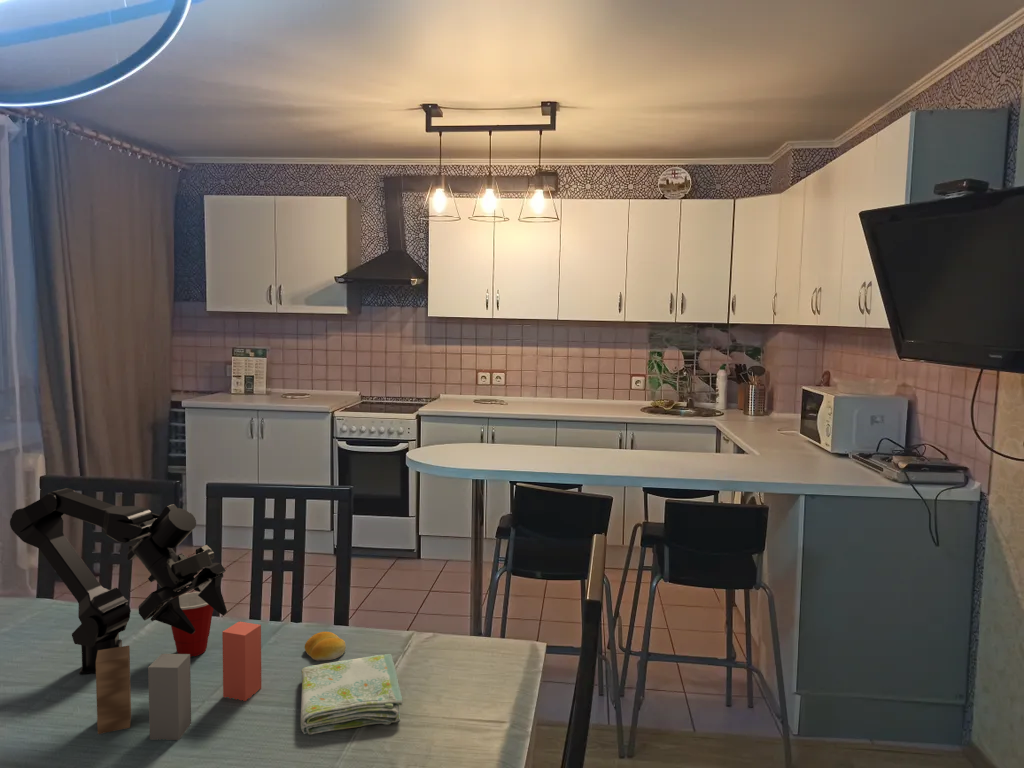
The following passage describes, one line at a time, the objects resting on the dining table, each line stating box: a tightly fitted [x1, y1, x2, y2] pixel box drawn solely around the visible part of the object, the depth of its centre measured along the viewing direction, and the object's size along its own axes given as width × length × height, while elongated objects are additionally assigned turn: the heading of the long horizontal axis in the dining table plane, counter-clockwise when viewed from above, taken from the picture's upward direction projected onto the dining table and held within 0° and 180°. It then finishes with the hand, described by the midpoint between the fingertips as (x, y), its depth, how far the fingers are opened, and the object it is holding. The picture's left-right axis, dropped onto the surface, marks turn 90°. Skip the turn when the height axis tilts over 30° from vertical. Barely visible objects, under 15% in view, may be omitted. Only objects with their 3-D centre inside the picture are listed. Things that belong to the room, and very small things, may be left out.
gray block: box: [147, 653, 192, 741], centre depth 126 cm, size 5×5×13 cm
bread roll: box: [304, 631, 347, 662], centre depth 158 cm, size 8×9×4 cm
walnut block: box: [95, 645, 132, 735], centre depth 128 cm, size 5×5×13 cm
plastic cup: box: [170, 591, 215, 658], centre depth 157 cm, size 11×11×12 cm
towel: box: [300, 653, 404, 735], centre depth 138 cm, size 18×21×5 cm
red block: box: [222, 620, 262, 702], centre depth 140 cm, size 5×5×13 cm
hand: (209, 622), depth 141 cm, fingers open, 9 cm apart
